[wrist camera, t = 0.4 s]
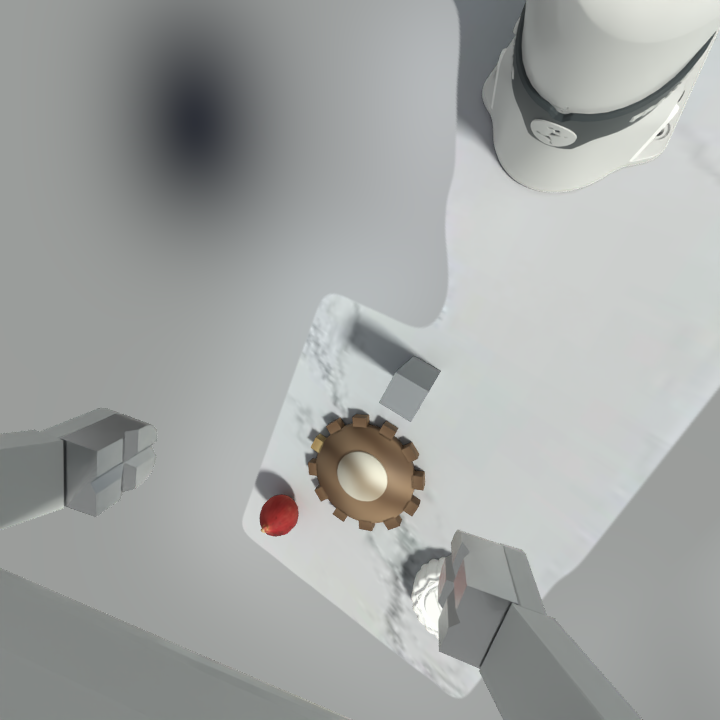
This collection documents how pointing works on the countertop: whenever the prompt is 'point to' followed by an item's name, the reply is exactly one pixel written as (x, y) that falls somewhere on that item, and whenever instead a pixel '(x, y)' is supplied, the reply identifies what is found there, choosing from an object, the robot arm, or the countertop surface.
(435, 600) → the mooncake
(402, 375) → the gray rectangular block
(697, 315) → the countertop surface
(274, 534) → the red fruit
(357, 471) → the sprocket
